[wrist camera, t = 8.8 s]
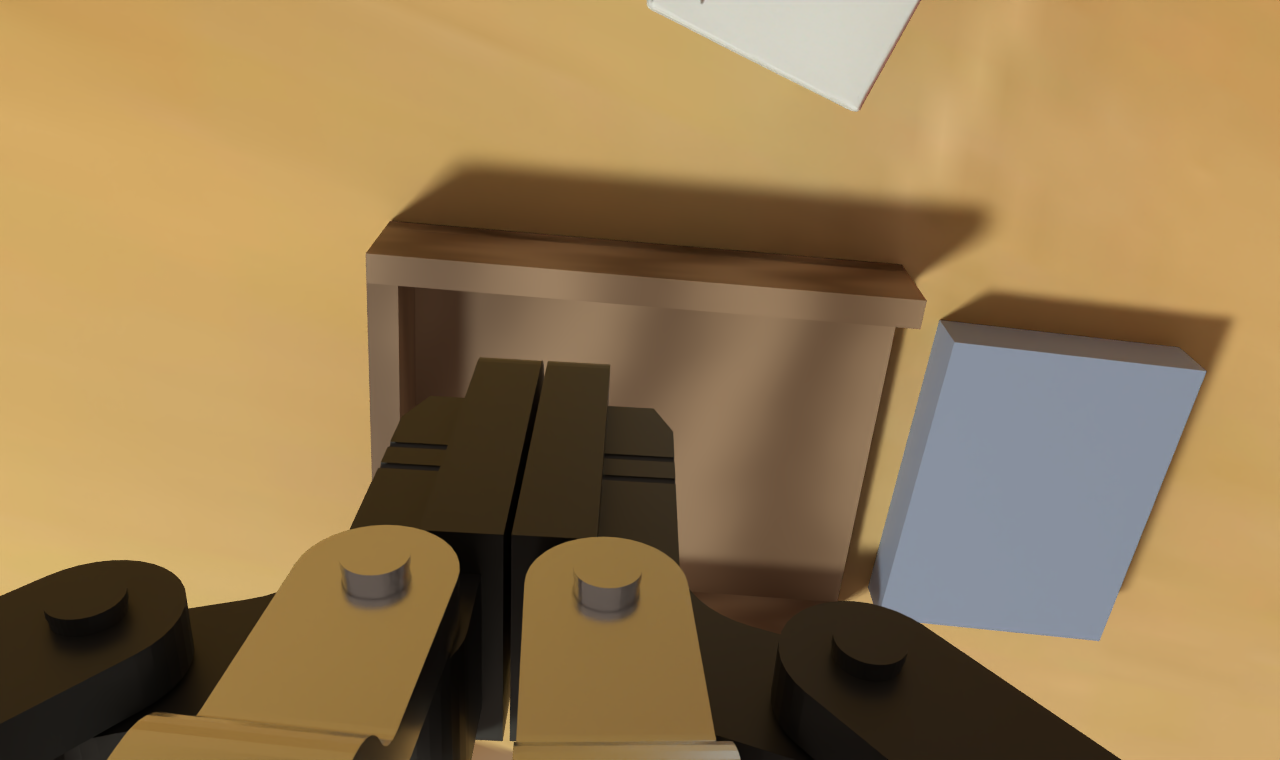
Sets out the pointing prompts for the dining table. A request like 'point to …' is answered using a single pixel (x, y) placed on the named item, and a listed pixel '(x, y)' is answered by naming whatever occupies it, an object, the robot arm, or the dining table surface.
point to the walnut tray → (670, 377)
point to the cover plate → (1029, 478)
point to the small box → (803, 38)
